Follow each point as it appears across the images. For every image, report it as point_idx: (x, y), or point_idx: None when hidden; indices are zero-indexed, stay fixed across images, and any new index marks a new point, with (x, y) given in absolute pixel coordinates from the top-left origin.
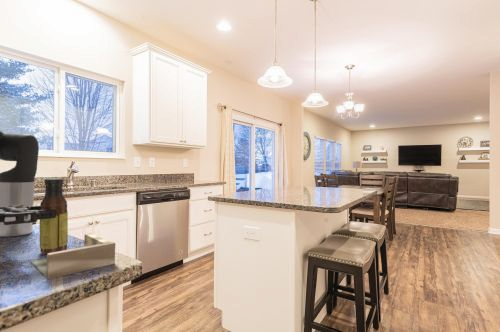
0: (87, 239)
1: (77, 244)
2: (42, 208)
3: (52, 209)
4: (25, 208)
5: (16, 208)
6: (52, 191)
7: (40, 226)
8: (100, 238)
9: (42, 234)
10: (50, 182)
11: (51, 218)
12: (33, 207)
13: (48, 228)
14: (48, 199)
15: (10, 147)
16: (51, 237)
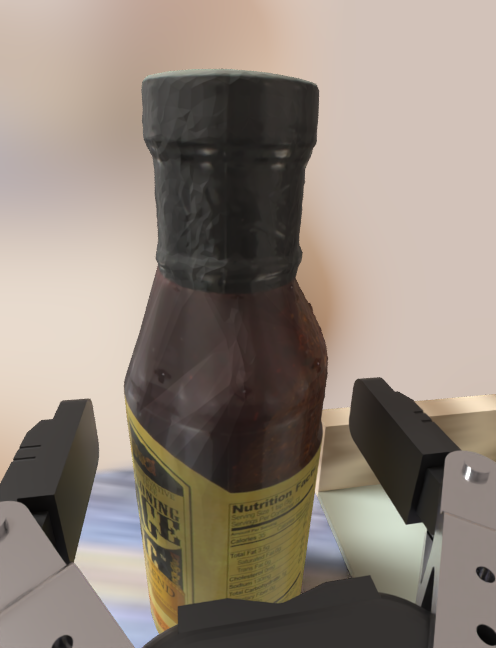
0: None
1: None
2: (288, 423)
3: (372, 385)
4: (466, 528)
5: (463, 644)
6: (296, 232)
7: (249, 562)
8: (436, 402)
9: (275, 592)
10: (311, 125)
11: (319, 452)
12: (64, 478)
13: (308, 525)
14: (298, 320)
15: None
16: (305, 555)
